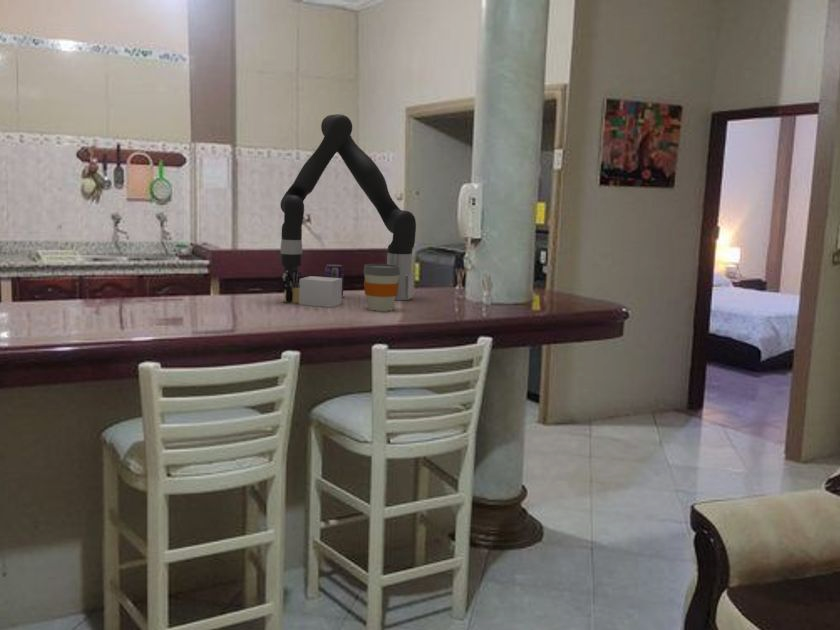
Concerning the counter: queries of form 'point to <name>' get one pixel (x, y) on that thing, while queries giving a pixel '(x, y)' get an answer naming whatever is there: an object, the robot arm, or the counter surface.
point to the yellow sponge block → (294, 295)
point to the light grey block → (320, 291)
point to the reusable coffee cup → (381, 286)
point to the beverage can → (334, 272)
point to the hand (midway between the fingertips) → (290, 300)
